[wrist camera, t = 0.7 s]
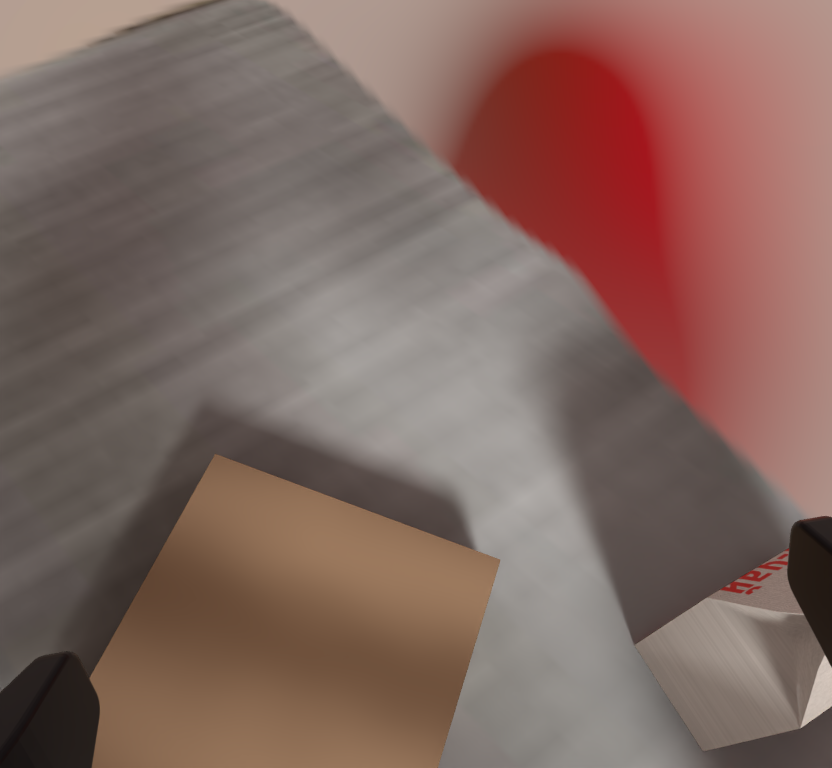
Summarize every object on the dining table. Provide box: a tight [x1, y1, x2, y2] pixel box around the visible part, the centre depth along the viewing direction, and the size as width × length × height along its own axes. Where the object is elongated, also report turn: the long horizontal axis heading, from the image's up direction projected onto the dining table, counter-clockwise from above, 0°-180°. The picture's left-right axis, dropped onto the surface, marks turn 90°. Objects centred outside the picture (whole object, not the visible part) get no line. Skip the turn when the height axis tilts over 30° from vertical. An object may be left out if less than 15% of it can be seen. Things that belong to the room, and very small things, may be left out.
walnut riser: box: [89, 454, 500, 768], centre depth 23 cm, size 10×10×3 cm
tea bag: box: [634, 548, 832, 752], centre depth 21 cm, size 4×7×10 cm, turn 117°
